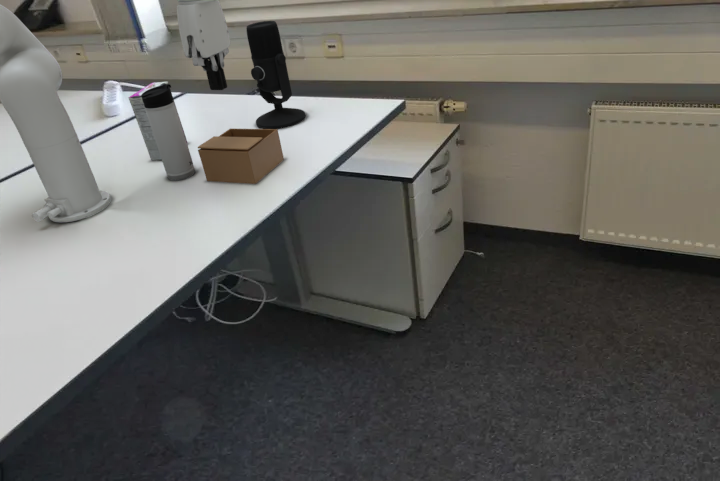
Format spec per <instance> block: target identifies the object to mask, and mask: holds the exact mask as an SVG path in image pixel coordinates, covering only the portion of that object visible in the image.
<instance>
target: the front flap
mask: <svg viewBox="0 0 720 481" xmlns="http://www.w3.org/2000/svg"><path fill="white" fill-rule="evenodd" d="M219 136H220V135H218V136H217V135H215V136H212V137H210V138H209V139H207V140H206V141H204V142H203V143H201V144H200V145H198V146H197V149H201V148H205V149H235V150H248V149H249V148H251V147H252V146H253V145H255V144H256V143H257V142H259V141H260V140H261V139H262V137H219Z"/></svg>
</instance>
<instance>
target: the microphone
mask: <svg viewBox="0 0 720 481" xmlns="http://www.w3.org/2000/svg"><path fill="white" fill-rule="evenodd" d="M245 29H246V37H247V42H248V46H249V50H250V56H251V57H250V58H251V61H252V65H253V68H251V70H250V75H251V77H252V79H253V80H254V81H256V87H257V88H258V92H259V95H260V97H261V98H262V99H263V100H264V101H265V102H266V103H268V104H270V105H271V104H272V105H273V106H274V109H272V110H269V111H267V112H265V113H263V114H261V115H260V116H258V117H257V118H256V119H255V125H256V127H257V128H258V129H278V130H280V129H281V130H282V129H286V128H290V127H293V126H296V125H298V124H300V123H302V122H303V121H305V119H306V117H307V115H306V111H305V110H303V109H301V108H292V107H283V104H284V103H286V102H288V100H290V98H291V97H292V96H293V92H292V87H291V82H290V76H289V72H288V67H287V61H286V60H287V58H286V55H285V53H284V50H283V44H282V40H281V34H280V31H279V26H278V23H277V21H276V20H264V21H257V22H253V23H251V24H248V25H246V28H245ZM275 92H280V93H281V98H280V97H276V96H275V95H274V94H273V93H275Z"/></svg>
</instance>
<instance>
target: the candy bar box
mask: <svg viewBox="0 0 720 481" xmlns="http://www.w3.org/2000/svg"><path fill="white" fill-rule="evenodd" d="M163 84H169V81H153V82H151V83H149V84H148V85H146V86H144V87H143V88H141V89H140V90H137V92H134V93H133V94H131V95H130V96H128V100H129V103H130V105H131V109H132V111H133V114H134V116H135V119H136V122H137V125H138V128H139V130H140V133H141V137H142V138H143V142H144V145H145V147H146V150H147V153H148V155H149V158H150V161H152V162H159V161H162V159H161V156H160V153H159V150H158V147H157V144H156V141H155V138H154V135H153V132H152V129H151V126H150V123H149V120H148V117H147V114H146V110H145V108H144V103H143V100H142V97H141V95H142V94H143V93H144V92H145V91H147V90H149V89H151V88H154V87H157V86H162V85H163ZM172 97H173V95H172ZM173 100H174V101H175V99H174V97H173ZM176 109H177V110H178V108H177V107H176ZM179 119H180V122H181V125H182V128H183V132H184V135H185V138H186V142H187V144H188V140H187V137H186V134H185V133H186V132H185V131H184V127H183V124H182V121H181V118H180V117H179Z"/></svg>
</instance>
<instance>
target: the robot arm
mask: <svg viewBox="0 0 720 481" xmlns="http://www.w3.org/2000/svg"><path fill="white" fill-rule="evenodd" d="M176 18H177V25H178V33H179V36H180V42H181V46H182V50H183V54H184V56H185V58H187V59H192V60H191V61H192V65H193V67H201V68H202V70H203V71H204V72H205V73H206V77H207V81H208V85H209V89H210V90H211V91H224V90H225V89H227V88H228V83H227V79H226V75H225V69H224V68H225V57H226V56H227V55H228V54H229V52H230V49H229V47H230V46H231V37H230V33H229V28H228V24H227V21H226V20H227V19H226V17H225V14H224V11H223V7H222V5H221V2H220V0H177V4H176ZM62 82H63V71H62V68H61V66H60V64H59V62H58V60H57V58H56V57H54V55H53V54H52V53H51V51H50V50H49V49H47V47H46V46H44V44H43V43H42V42H41V40H39V39H38V37H36V36H35V34H34V33H32V31H31V30H30V29H29V28H28V27H27V26H26V25H25V24H24V23H23V22H22V20H21V19H20V18H19V17H18V16H17V15H16V14H14V12H12V11H11V10H10V9H8V8H7V7H6V6H4V5H2V4H1V3H0V103H1V105H2V106H3V108H4V110H5V111H6V113H7V114H8V116H9V118H10V120H11V121H12V122H13V124H14V126H15V128H16V131H17V132H18V134H19V136H20V139H21V141H22V143H23V145H24V147H25V149H26V150H27V153H28V155H29V157H30V160H31V162H32V164H33V166H34V169H35V170H36V172H37V175H38V177H39V179H40V181H41V184H42V186H43V188H44V190H45V192H46V195H47V197H46V198H44V202H45V204H44V205H43V207H42V208H40V209H37V210H36V211H35V212H32V213H31V216H32V218H33V220H35V222H41V221H42V220H44V219H46V218H47V217H48V219H49V220H50V221H52V222H54V223H71V222H77V221H80V220H84V219H86V218H90V217H91V216H93V215H96V214H98V213H100V212H101V211H103V210H104V209H106V208H107V207H108V206H109V205H110V204H111V202H112V197H111V194H110V193H109V191H106V190H100V188H99V184H98V183H97V180H96V178H95V176H94V173H93V170H92V168H91V166H90V163H89V161H88V158H87V156H86V153H85V151H84V148H83V146H82V144H81V141H80V139H79V136H78V134H77V132H76V129H75V126H74V124H73V122H72V120H71V118H70V115H69V113H68V111H67V109H66V108H65V106H64V104H63V102H62V100H61V97H60V96H59V94H58V91H59V89H60V88H61V85H62Z"/></svg>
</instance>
